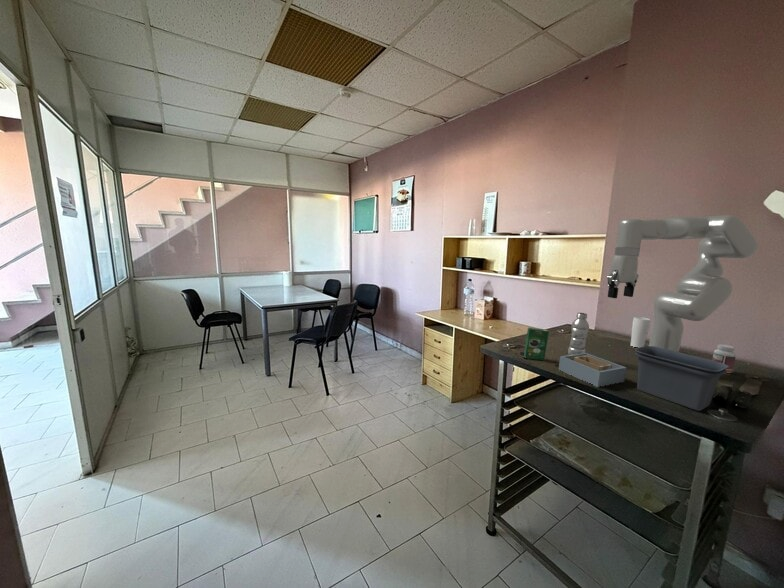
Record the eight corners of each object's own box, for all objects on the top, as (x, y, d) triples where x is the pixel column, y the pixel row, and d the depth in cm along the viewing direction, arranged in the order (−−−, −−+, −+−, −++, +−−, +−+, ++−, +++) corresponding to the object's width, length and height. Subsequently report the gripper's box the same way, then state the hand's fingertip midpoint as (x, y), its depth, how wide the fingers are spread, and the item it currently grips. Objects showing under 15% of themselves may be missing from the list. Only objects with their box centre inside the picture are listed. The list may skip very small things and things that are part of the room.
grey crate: (583, 365, 128) (585, 352, 127) (624, 381, 114) (626, 367, 113) (558, 369, 123) (560, 356, 122) (597, 387, 109) (600, 372, 108)
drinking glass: (646, 350, 152) (651, 320, 150) (628, 347, 156) (634, 318, 153) (644, 347, 158) (650, 318, 155) (627, 344, 162) (633, 315, 159)
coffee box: (543, 358, 135) (547, 328, 132) (545, 360, 132) (549, 330, 130) (523, 356, 136) (527, 327, 134) (524, 358, 133) (528, 328, 131)
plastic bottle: (587, 361, 134) (595, 315, 130) (571, 360, 134) (578, 314, 130) (579, 355, 140) (585, 312, 137) (563, 355, 140) (570, 311, 137)
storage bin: (623, 387, 109) (630, 348, 107) (644, 379, 117) (651, 343, 115) (706, 418, 91) (717, 372, 89) (724, 407, 99) (734, 364, 97)
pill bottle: (730, 371, 130) (736, 346, 128) (732, 376, 125) (739, 349, 123) (709, 367, 134) (714, 342, 132) (710, 371, 129) (716, 345, 127)
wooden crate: (584, 367, 124) (586, 355, 123) (610, 377, 115) (612, 364, 114) (572, 369, 122) (574, 357, 121) (597, 380, 112) (599, 367, 112)
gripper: (630, 252, 126) (623, 294, 129) (602, 252, 119) (596, 296, 122) (651, 253, 119) (644, 297, 122) (623, 253, 112) (616, 300, 115)
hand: (620, 297), depth 122 cm, fingers open, 9 cm apart
